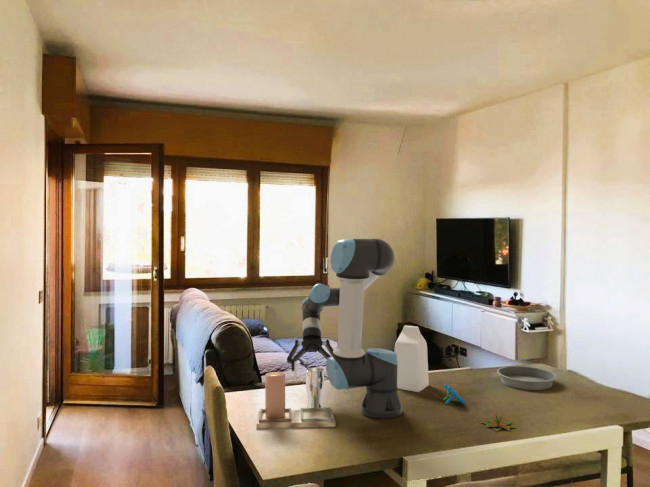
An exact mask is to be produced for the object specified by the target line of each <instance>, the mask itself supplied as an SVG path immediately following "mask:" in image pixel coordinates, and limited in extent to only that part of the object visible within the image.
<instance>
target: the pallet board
mask: <svg viewBox="0 0 650 487" xmlns="http://www.w3.org/2000/svg"><path fill="white" fill-rule="evenodd" d="M333 410H334V409H333V408H331V407H323V408H307V407H301V408H300V409H292V407H291V408H288V407H287V408H286V407H285V418H284V419H266V417H265V408H261V409H260V410H259V411H258V413H257V420H256V429H283V428H284V429H287V428H289V429H291V428H292V429H295V428H326V427H327V428H330V427H332V428H333V427H336V418H335V414H334V411H333Z"/></svg>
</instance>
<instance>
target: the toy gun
mask: <svg viewBox="0 0 650 487" xmlns="http://www.w3.org/2000/svg"><path fill="white" fill-rule="evenodd" d="M443 387H444V389H445V390H446V396H444V398H443V401H445V402H444V403H445V404H446V405H448V404H449V403H450V402H451V401H452V400H453V399H456V400H457V401H458V402H460V403H461V404H463V405H465V403H466V402H465V400H464V399H463V398H462V397H461V396H460V395H459V394H458V392H457V391H455V390H454V389H452V388H451V387H450V386H448V385H447V384H444V385H443Z"/></svg>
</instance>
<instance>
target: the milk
mask: <svg viewBox="0 0 650 487" xmlns="http://www.w3.org/2000/svg"><path fill="white" fill-rule="evenodd" d="M393 350H394V351H393V352H394V353H396V355H397V361H398V365H397V390H404V391H411V392H416V393H420V392H422V391H423V390H424V389H425V388H427V387H428V386H429V385H430V384H429V383H430V381H429V363H428V360H429V359H428V357H429V356H428V344H427V341H426V339H425V338H424V336H423V335H422V333H421V331H420V328H419V326H414V325H403V328H402V330H401V332H400V333H399V335H398V338H397V339H396V341H395V344H394V349H393Z"/></svg>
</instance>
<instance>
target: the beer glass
mask: <svg viewBox="0 0 650 487" xmlns="http://www.w3.org/2000/svg"><path fill="white" fill-rule="evenodd" d="M324 386H325V371H324V368H322V367H314V366H313V367H308V368H306V371H305V388H306V393H307V405H306V408H324V405H323V394H324Z"/></svg>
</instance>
